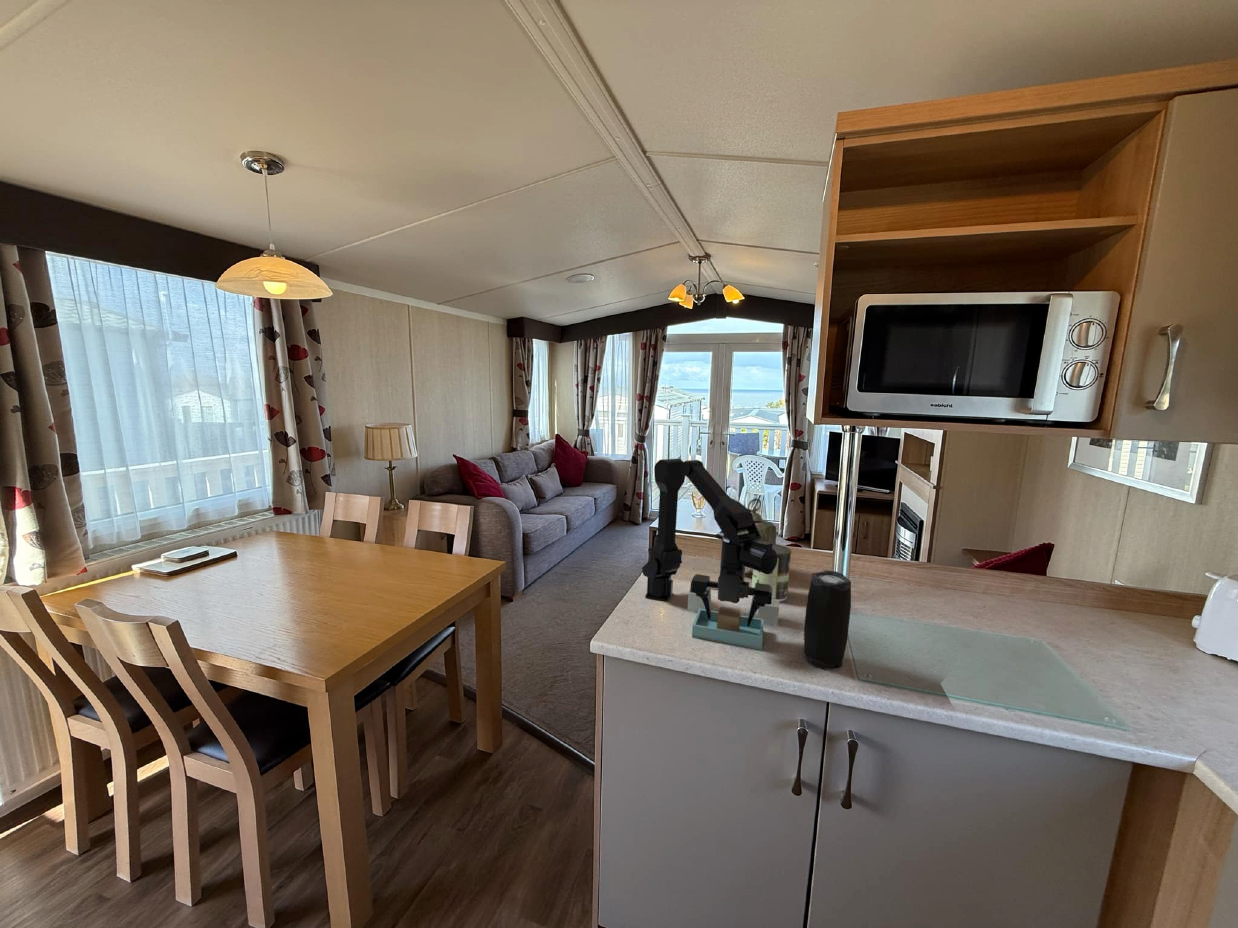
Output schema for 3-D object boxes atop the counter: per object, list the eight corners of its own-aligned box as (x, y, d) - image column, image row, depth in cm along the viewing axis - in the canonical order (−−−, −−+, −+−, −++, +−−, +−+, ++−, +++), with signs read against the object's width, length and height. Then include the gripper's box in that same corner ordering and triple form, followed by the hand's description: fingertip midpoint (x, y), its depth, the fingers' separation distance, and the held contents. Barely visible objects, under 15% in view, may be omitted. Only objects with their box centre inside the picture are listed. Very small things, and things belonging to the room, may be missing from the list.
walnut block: (718, 625, 120) (720, 606, 119) (739, 628, 119) (740, 609, 118) (716, 634, 116) (717, 614, 115) (737, 638, 114) (739, 618, 113)
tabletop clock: (751, 565, 165) (757, 493, 162) (775, 573, 158) (781, 498, 155) (725, 574, 156) (730, 499, 152) (749, 583, 149) (754, 504, 146)
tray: (691, 636, 115) (692, 625, 115) (698, 619, 124) (698, 608, 124) (761, 649, 110) (762, 637, 110) (762, 630, 119) (763, 619, 119)
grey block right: (757, 622, 124) (758, 604, 123) (758, 614, 128) (759, 596, 128) (777, 626, 122) (779, 607, 121) (777, 617, 127) (779, 599, 126)
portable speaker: (797, 663, 105) (805, 577, 102) (807, 645, 113) (815, 565, 110) (840, 677, 100) (849, 587, 98) (847, 657, 108) (856, 574, 105)
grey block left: (687, 610, 129) (688, 593, 128) (690, 603, 134) (691, 586, 133) (706, 614, 128) (707, 596, 127) (708, 606, 132) (709, 589, 132)
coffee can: (781, 588, 146) (784, 543, 144) (792, 602, 136) (796, 554, 134) (746, 586, 146) (750, 542, 144) (755, 601, 136) (759, 553, 134)
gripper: (688, 566, 110) (684, 630, 112) (774, 578, 104) (768, 645, 106) (695, 551, 120) (692, 610, 123) (774, 561, 115) (769, 623, 117)
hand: (728, 622), depth 117 cm, fingers open, 9 cm apart
